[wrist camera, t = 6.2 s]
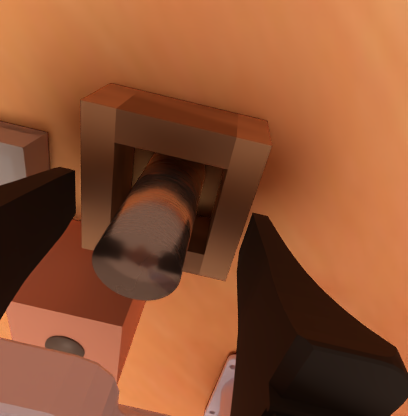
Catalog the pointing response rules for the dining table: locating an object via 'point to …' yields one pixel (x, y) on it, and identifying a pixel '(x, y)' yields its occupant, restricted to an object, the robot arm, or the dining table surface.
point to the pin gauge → (151, 230)
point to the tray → (22, 152)
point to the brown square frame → (177, 147)
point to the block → (74, 307)
